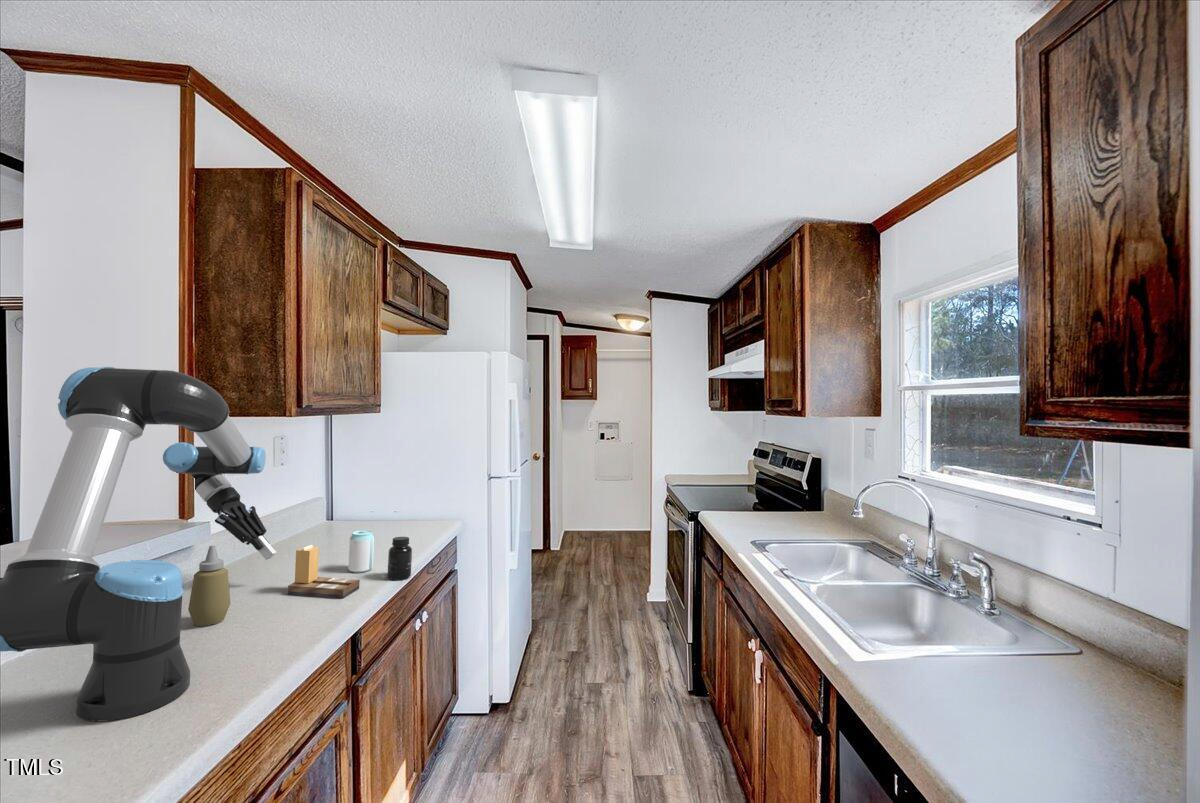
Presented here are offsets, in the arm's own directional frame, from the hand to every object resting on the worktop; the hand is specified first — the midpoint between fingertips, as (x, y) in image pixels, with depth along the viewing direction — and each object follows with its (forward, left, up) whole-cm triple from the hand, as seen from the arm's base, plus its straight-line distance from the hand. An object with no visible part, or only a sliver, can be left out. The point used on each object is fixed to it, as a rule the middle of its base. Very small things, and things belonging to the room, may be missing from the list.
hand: (271, 556), depth 148 cm
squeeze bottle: (-14, -20, -9) cm, 26 cm away
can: (+25, +2, -9) cm, 26 cm away
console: (+12, -12, -9) cm, 19 cm away
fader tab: (+8, -8, -7) cm, 14 cm away
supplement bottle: (+33, -11, -9) cm, 36 cm away
